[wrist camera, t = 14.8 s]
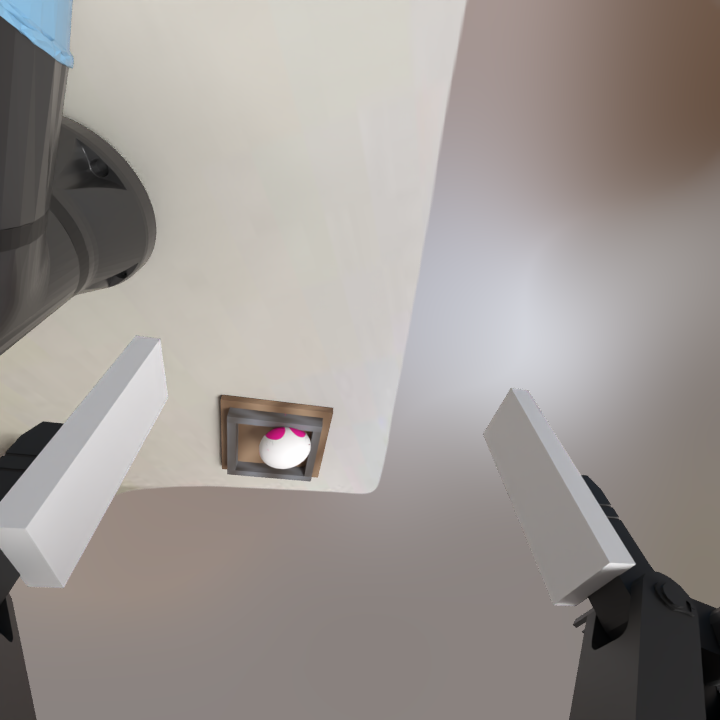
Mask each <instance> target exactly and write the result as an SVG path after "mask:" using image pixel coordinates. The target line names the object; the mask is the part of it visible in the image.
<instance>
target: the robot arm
mask: <svg viewBox="0 0 720 720" xmlns="http://www.w3.org/2000/svg"><path fill="white" fill-rule="evenodd" d="M72 3H73V0H0V355H2V354H3V353H4V352H5V351H6V350H8V349H9V348H10V347H11V346H13V345H14V344H15V343H16V342H18V341H19V340H20V339H21V338H23V337H24V336H25V335H26V334H27V333H29V332H30V331H31V330H32V329H34V328H35V327H36V326H37V325H39V324H40V323H41V322H42V321H43V320H45V319H46V318H47V317H48V316H50V315H51V314H52V313H53V312H55V311H56V310H57V309H58V308H60V307H61V306H62V305H63V304H64V303H66V302H67V301H68V300H69V299H71V298H72V297H73V296H74V295H77V294H82V293H86V292H91V291H95V290H99V289H104V288H108V287H112V286H115V285H117V284H120V283H122V282H124V281H125V280H127V279H129V278H130V277H131V276H133V275H134V274H135V273H136V272H137V271H138V270H139V269H140V268H141V267H142V266H143V265H144V264H145V263H146V262H147V261H148V259H149V257H150V256H151V254H152V251H153V249H154V245H155V240H156V221H155V215H154V211H153V208H152V204H151V202H150V199H149V197H148V194H147V192H146V190H145V188H144V186H143V185H142V183H141V181H140V180H139V178H138V176H137V175H136V174H135V172H134V171H133V169H132V168H131V167H130V165H129V164H128V163H127V162H126V161H125V160H124V158H123V157H122V156H121V155H120V154H119V153H118V152H117V151H116V150H115V149H114V148H113V147H112V146H110V145H109V144H108V143H107V142H106V141H104V140H103V139H102V138H101V137H99V136H98V135H96V134H95V133H94V132H92V131H91V130H89V129H87V128H86V127H84V126H82V125H81V124H79V123H77V122H75V121H73V120H71V119H68V118H66V117H63V116H62V113H63V106H64V98H65V91H66V84H67V76H68V69H69V68H73V64H74V60H73V56H72V54H71V52H70V31H71V17H72ZM167 399H168V391H167V384H166V377H165V370H164V363H163V355H162V348H161V341H160V339H158V338H151V337H144V336H137V335H136V336H135V337H134V338H133V340H132V341H131V342H130V343H129V345H128V346H127V347H126V348H125V349H124V351H123V352H122V353H121V354H120V356H119V357H118V358H117V359H116V361H115V362H114V363H113V364H112V365H111V367H110V368H109V369H108V370H107V372H106V373H105V374H104V375H103V376H102V378H101V379H100V380H99V381H98V383H97V384H96V385H95V386H94V387H93V389H92V390H91V391H90V392H89V394H88V395H87V396H86V397H85V399H84V400H83V401H82V402H81V403H80V405H79V406H78V407H77V408H76V410H75V411H74V412H73V413H72V414H71V416H70V417H69V418H68V419H67V421H66V422H65V423H64V424H62V423H52V422H42V423H40V424H38V425H37V426H35V427H34V428H32V429H31V430H29V431H27V432H26V433H24V434H23V435H21V436H20V437H19V438H18V439H17V441H16V442H15V443H14V444H13V445H12V446H11V447H10V448H9V449H8V450H7V451H6V454H5V456H2V457H1V458H0V720H36V715H35V711H34V705H33V700H32V695H31V690H30V685H29V681H28V676H27V671H26V666H25V661H24V656H23V652H22V646H21V642H20V637H19V632H18V627H17V622H16V617H15V612H14V607H13V602H12V598H11V596H10V594H9V592H10V590H11V589H12V587H13V585H14V584H15V582H16V581H17V579H18V578H19V576H20V578H21V579H22V580H23V581H24V582H25V584H26V585H27V586H28V587H52V588H64V586H65V585H66V583H67V581H68V579H69V577H70V575H71V574H72V572H73V570H74V568H75V566H76V565H77V563H78V561H79V559H80V557H81V555H82V554H83V552H84V550H85V548H86V546H87V545H88V543H89V541H90V539H91V537H92V535H93V533H94V532H95V530H96V528H97V526H98V524H99V522H100V521H101V519H102V517H103V515H104V514H105V512H106V510H107V508H108V506H109V505H110V503H111V501H112V499H113V497H114V495H115V494H116V492H117V490H118V488H119V486H120V485H121V483H122V481H123V479H124V477H125V475H126V474H127V472H128V470H129V468H130V466H131V465H132V463H133V461H134V459H135V457H136V455H137V454H138V452H139V450H140V448H141V446H142V445H143V443H144V441H145V439H146V437H147V435H148V434H149V432H150V430H151V428H152V426H153V425H154V423H155V421H156V419H157V417H158V415H159V414H160V412H161V410H162V408H163V406H164V404H165V403H166V401H167ZM483 435H484V438H485V440H486V442H487V445H488V447H489V450H490V452H491V455H492V457H493V459H494V462H495V464H496V467H497V469H498V471H499V474H500V477H501V479H502V481H503V484H504V486H505V489H506V491H507V494H508V496H509V498H510V501H511V503H512V506H513V508H514V511H515V513H516V515H517V518H518V520H519V523H520V525H521V528H522V530H523V533H524V535H525V537H526V540H527V542H528V545H529V547H530V550H531V552H532V554H533V557H534V559H535V562H536V564H537V567H538V569H539V571H540V574H541V576H542V579H543V581H544V584H545V586H546V589H547V591H548V594H549V596H550V598H551V601H552V603H553V605H561V606H577V605H578V604H580V603H581V602H583V601H584V600H585V599H587V598H589V600H590V602H591V604H592V606H593V608H592V609H591V610H589V611H588V612H586V613H585V614H583V615H581V616H580V617H579V618H577V619H576V620H575V622H574V624H573V625H574V626H575V627H576V628H577V627H579V626H580V625H582V624H583V623H585V622H586V626H585V629H584V630H583V631H582V632H583V633H584V637H583V643H582V649H581V655H580V660H579V667H578V672H577V677H576V683H575V690H574V695H573V701H572V707H571V712H570V718H569V720H720V607H719V608H714V607H711V606H709V605H707V604H704V603H701V602H699V601H697V600H694V599H691V598H690V597H689V595H688V594H687V593H686V592H685V591H684V590H683V589H682V588H681V586H680V585H678V584H677V583H676V582H674V581H673V580H672V579H671V578H669V577H668V576H665V575H664V574H662V573H659V572H655V571H654V570H653V569H652V567H651V566H650V564H648V561H647V560H646V559H645V557H644V555H643V554H642V552H641V551H640V549H639V548H638V546H637V544H636V543H635V541H634V540H633V538H632V537H631V535H630V534H629V532H628V530H627V529H626V527H625V526H624V524H623V523H622V521H621V520H619V519H618V515H617V514H616V512H615V510H614V509H613V508H612V507H611V506H610V505H611V504H610V503H609V501H608V499H607V498H606V496H605V495H604V493H603V492H602V490H601V489H600V488H599V487H598V486H597V485H596V484H595V483H594V482H593V481H592V480H591V479H590V478H589V477H588V476H586V475H580V473H579V471H578V470H577V468H576V466H575V465H574V463H573V462H572V460H571V458H570V457H569V455H568V454H567V452H566V450H565V449H564V447H563V446H562V444H561V442H560V441H559V439H558V437H557V436H556V434H555V432H554V431H553V429H552V428H551V426H550V424H549V423H548V421H547V420H546V418H545V416H544V415H543V413H542V411H541V410H540V408H539V407H538V405H537V403H536V402H535V400H534V399H533V397H532V395H531V394H530V392H529V391H528V390H521V389H515V388H511V389H510V391H509V392H508V394H507V396H506V397H505V399H504V400H503V402H502V404H501V405H500V407H499V409H498V410H497V412H496V414H495V415H494V417H493V418H492V420H491V422H490V423H489V425H488V427H487V428H486V430H485V432H484V433H483Z"/></svg>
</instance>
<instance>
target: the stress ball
mask: <svg viewBox="0 0 720 720" xmlns="http://www.w3.org/2000/svg"><path fill="white" fill-rule="evenodd" d="M285 415H286V414H285ZM310 448H311V442H310V439H309V437H308V435H307V434H306V433H305V432H304V431H302V430H298V429H295V428H290V427H279V428H274V429H272V430H271V431H269V432H268V433H267V434H266V435H265V436H264V437H263V438H262V440H261V442H260V445H259V454H260V457H261V459H262V460H263V461H264V462H265V463H266V464H267V465H269V466H271V467H273V468H277V469H288V468H292V467H294V466H297V465H299V464H300V463H302V462H303V461H304V460H305V459H306V457H307V456H308V454H309V452H310Z"/></svg>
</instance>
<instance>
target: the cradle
mask: <svg viewBox="0 0 720 720" xmlns="http://www.w3.org/2000/svg"><path fill="white" fill-rule="evenodd" d="M285 414H286V415H285ZM332 415H333V408H328V407H320V406H311V405H303V404H295V403H286V402H278V401H269V400H261V399H253V398H244V397H236V396H228V395H222V397H221V442H222V469H227V474H231V475H243V476H254V477H266V478H277V479H289V480H301V481H311V477H318V474H319V470H320V466H321V462H322V457H323V453H324V449H325V445H326V440H327V436H328V432H329V428H330V423H331V419H332ZM279 427H290V428H295V429H298V430H302V431H304V432H305V433H306V434H307V435H308V437H309V439H310V442H311V448H310V452H309V454H308V456H307V457H306V459H305V460H304V461H303V462H302V463H300V464H299V465H297V466H294V467H292V468H288V469H277V468H273V467H271V466H269V465H267V464H266V463H265V462H264V461H263V460H262V459H261V457H260V454H259V445H260V442H261V440H262V438H263V437H264V436H265V435H266V434H267V433H268V432H269V431H271V430H272V429H274V428H279Z"/></svg>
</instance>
